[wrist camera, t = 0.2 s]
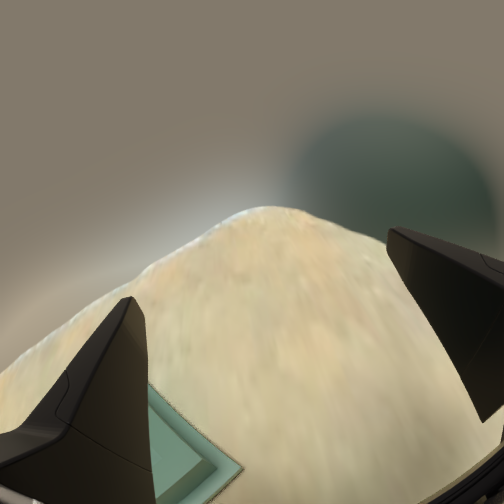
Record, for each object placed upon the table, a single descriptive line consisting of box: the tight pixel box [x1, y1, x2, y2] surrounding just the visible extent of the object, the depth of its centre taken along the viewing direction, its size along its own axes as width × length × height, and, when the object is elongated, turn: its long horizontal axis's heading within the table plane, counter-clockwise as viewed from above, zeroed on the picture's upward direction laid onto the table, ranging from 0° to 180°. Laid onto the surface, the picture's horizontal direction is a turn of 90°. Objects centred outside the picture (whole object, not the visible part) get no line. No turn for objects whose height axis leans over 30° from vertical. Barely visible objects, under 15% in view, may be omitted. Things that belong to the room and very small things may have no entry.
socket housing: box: [148, 384, 243, 504], centre depth 16 cm, size 14×14×4 cm
